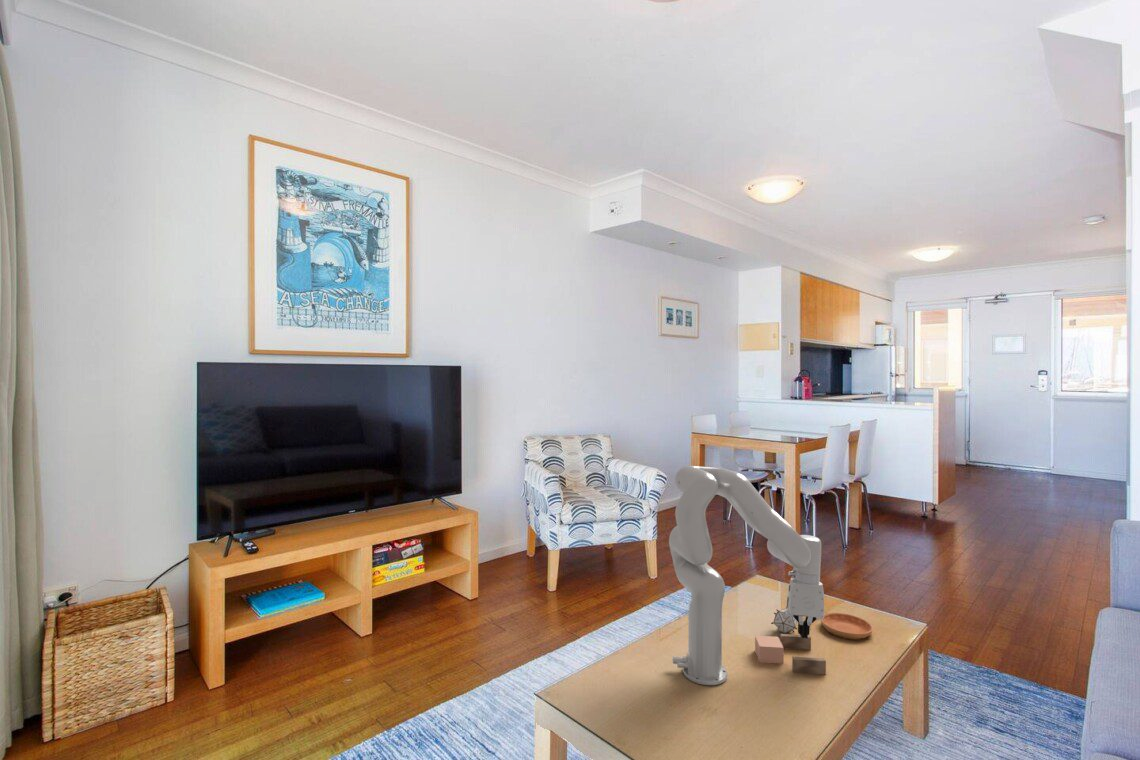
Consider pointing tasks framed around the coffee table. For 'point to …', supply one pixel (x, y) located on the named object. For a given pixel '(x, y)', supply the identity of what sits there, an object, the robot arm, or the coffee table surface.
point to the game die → (784, 621)
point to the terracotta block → (769, 649)
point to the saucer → (846, 625)
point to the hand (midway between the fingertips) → (803, 636)
